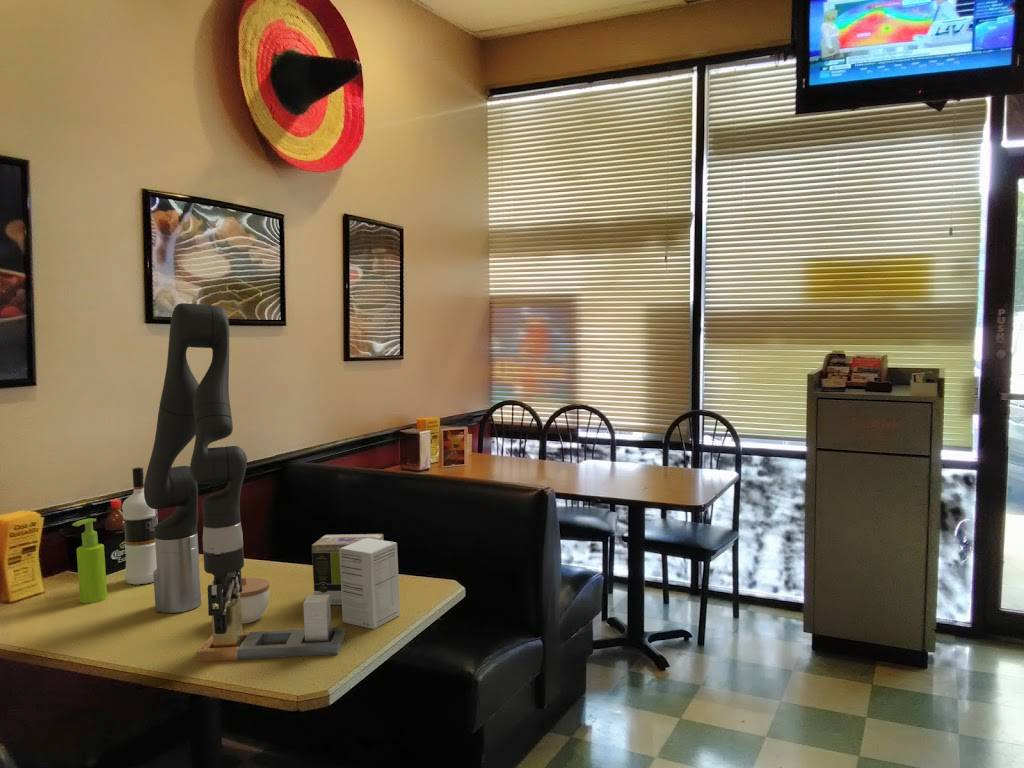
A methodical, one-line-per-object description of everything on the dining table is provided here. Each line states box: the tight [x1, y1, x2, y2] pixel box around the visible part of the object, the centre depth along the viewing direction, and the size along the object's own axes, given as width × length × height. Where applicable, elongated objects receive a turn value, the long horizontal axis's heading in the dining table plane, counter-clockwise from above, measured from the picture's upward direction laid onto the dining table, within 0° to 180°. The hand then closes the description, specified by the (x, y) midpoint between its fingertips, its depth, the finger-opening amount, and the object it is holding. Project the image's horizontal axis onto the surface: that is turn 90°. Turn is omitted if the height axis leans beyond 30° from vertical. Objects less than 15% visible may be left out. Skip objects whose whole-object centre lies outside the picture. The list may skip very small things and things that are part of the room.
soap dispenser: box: [71, 517, 108, 604], centre depth 188 cm, size 6×7×20 cm
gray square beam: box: [302, 594, 332, 643], centre depth 157 cm, size 4×4×10 cm
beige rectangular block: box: [211, 598, 243, 648], centre depth 156 cm, size 4×4×10 cm
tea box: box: [311, 533, 385, 606], centre depth 185 cm, size 15×10×15 cm, turn 84°
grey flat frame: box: [197, 626, 346, 663], centre depth 156 cm, size 27×9×2 cm, turn 94°
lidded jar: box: [238, 576, 270, 625], centre depth 173 cm, size 11×11×9 cm
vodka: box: [121, 467, 159, 586], centre depth 202 cm, size 9×9×30 cm
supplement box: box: [339, 538, 401, 630], centre depth 171 cm, size 10×9×17 cm
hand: (227, 625), depth 155 cm, fingers open, 8 cm apart
